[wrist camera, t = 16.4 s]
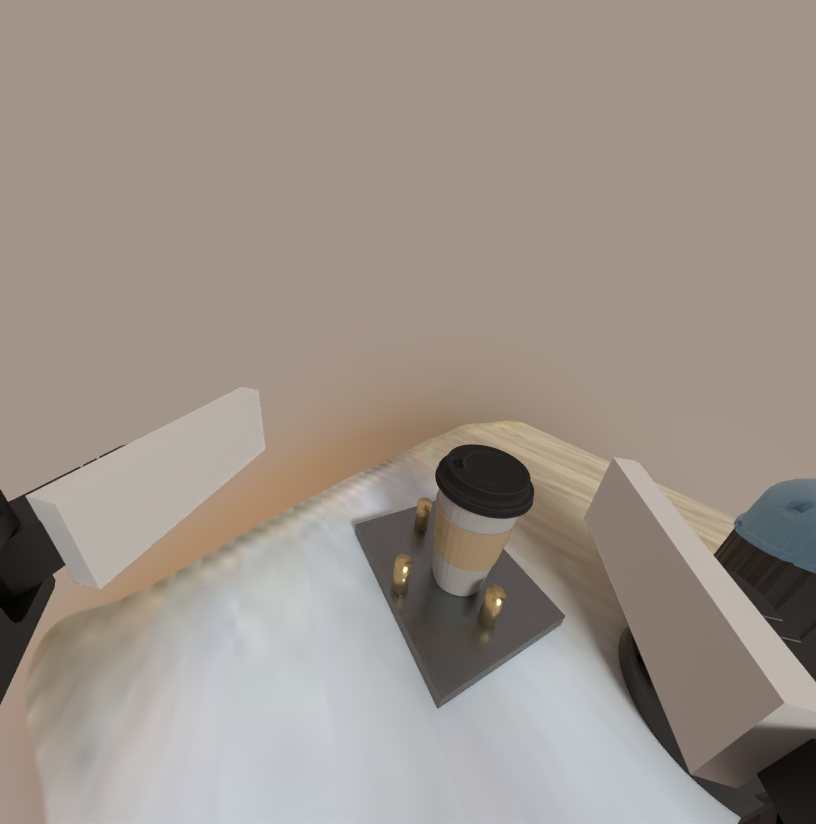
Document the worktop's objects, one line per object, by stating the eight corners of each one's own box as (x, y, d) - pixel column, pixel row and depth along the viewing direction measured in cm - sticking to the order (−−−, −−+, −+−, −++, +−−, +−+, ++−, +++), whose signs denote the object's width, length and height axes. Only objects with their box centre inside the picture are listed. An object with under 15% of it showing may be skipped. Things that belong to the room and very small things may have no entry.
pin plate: (560, 624, 34) (578, 591, 31) (437, 708, 26) (449, 673, 24) (452, 502, 49) (459, 474, 46) (355, 533, 41) (357, 501, 39)
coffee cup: (404, 550, 38) (422, 445, 32) (469, 533, 42) (496, 436, 35) (441, 627, 30) (474, 510, 24) (516, 598, 34) (562, 489, 28)
